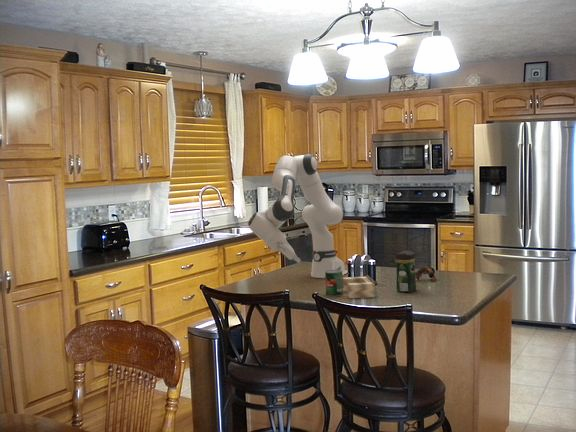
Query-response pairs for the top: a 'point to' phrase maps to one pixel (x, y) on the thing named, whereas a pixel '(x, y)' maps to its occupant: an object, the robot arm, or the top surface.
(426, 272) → the brown arched piece
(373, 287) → the holder
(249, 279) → the top surface
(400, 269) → the coffee jar
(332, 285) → the canned tomato
